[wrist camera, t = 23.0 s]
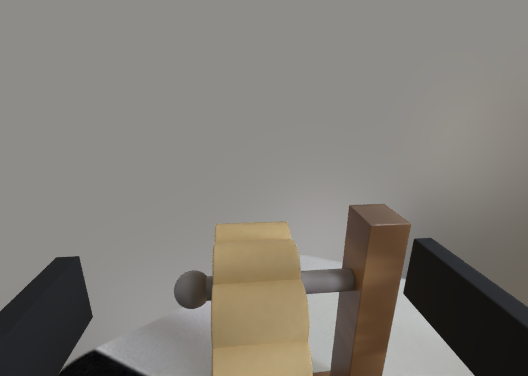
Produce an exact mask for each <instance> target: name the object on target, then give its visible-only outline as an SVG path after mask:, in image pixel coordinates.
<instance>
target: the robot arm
mask: <svg viewBox="0 0 528 376" xmlns="http://www.w3.org/2000/svg"><path fill="white" fill-rule="evenodd" d="M403 294H404V295H405V296H406V297H407V298H408V300H409V301H410V302H411V303H412V304H413V305H414V306H415V308H416V309H417V310H418V311H419V312H420V313H421V314H422V316H423V317H424V318H425V319H426V320H427V321H428V322H429V324H430V325H431V326H432V327H433V328H434V329H435V331H436V332H437V333H438V334H439V335H440V336H441V337H442V339H443V340H444V341H445V342H446V343H447V344H448V345H449V347H450V348H451V349H452V350H453V351H454V352H455V353H456V355H457V356H458V357H459V358H460V359H461V360H462V362H463V363H464V364H465V365H466V366H467V367H468V368H469V370H470V371H471V372H472V373H473V374H474V375H475V376H528V307H527V306H525V305H524V304H523V303H521V302H520V301H518V300H517V299H516V298H514V297H513V296H512V295H510V294H509V293H507V292H506V291H504V290H503V289H502V288H500V287H499V286H498V285H496V284H495V283H493V282H492V281H490V280H489V279H488V278H486V277H485V276H484V275H482V274H481V273H479V272H478V271H476V270H475V269H474V268H472V267H471V266H469V265H468V264H467V263H465V262H464V261H463V260H461V259H460V258H458V257H457V256H456V255H454V254H453V253H451V252H450V251H449V250H447V249H446V248H444V247H443V246H442V245H440V244H439V243H438V242H436V241H435V240H433V239H432V238H419V239H414V242H413V247H412V253H411V257H410V262H409V267H408V272H407V277H406V282H405V287H404V292H403ZM92 317H93V316H92V311H91V307H90V302H89V298H88V293H87V289H86V285H85V280H84V276H83V272H82V267H81V263H80V258H79V256H75V257H57V258H55V259H54V260H53V261H52V262H51V263H50V264H49V265H48V266H47V267H46V268H45V269H44V270H43V271H42V272H41V273H40V274H39V275H38V276H37V277H36V278H35V279H33V280H32V281H31V282H30V283H29V284H28V285H27V286H26V287H25V288H24V289H23V290H22V291H21V292H20V293H19V294H18V295H17V296H16V297H15V298H14V299H13V300H12V301H11V302H10V303H9V304H7V305H6V306H5V307H4V308H3V309H2V310H1V311H0V376H57V375H58V374H59V372H60V370H61V369H62V367H63V366H64V364H65V362H66V361H67V359H68V357H69V356H70V354H71V352H72V350H73V349H74V347H75V346H76V344H77V342H78V341H79V339H80V337H81V336H82V334H83V332H84V330H85V329H86V327H87V326H88V324H89V322H90V321H91V319H92Z"/></svg>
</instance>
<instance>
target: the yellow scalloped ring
mask: <svg viewBox="0 0 528 376" xmlns="http://www.w3.org/2000/svg"><path fill="white" fill-rule="evenodd" d="M211 337H212V376H313V370H312V360H311V353H310V347H309V342H308V338H309V310H308V302H307V297H306V292H305V288H304V285H303V283H302V280H301V270H300V260H299V254H298V250H297V246H296V244H295V242H294V240H292V239H291V236H290V230H289V226H288V224H287V222H285V221H284V222H283V221H281V222H255V223H231V224H230V223H229V224H216V227H215V244H214V248H213V287H212V301H211Z"/></svg>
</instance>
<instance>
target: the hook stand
mask: <svg viewBox="0 0 528 376" xmlns="http://www.w3.org/2000/svg"><path fill="white" fill-rule="evenodd" d="M410 228H411V223H410V222H408V221H407V220H406V219H404V218H403V217H401V216H400V215H399V214H397V213H396V212H395V211H393V210H392V209H390V208H389V207H388V206H386V205H385V204H371V205H370V204H368V205H350V206H349V213H348V222H347V231H346V239H345V249H344V257H343V266H342V269H328V270H310V271H301V280H302V283H303V285H304V288H305V292H306V294H314V293H329V292H339V300H338V309H337V318H336V327H335V335H334V344H333V353H332V362H331V370H330V371H327V372H317V373H313V376H382V373H383V368H384V363H385V357H386V352H387V347H388V342H389V337H390V332H391V326H392V321H393V316H394V311H395V306H396V301H397V295H398V290H399V285H400V280H401V275H402V270H403V264H404V259H405V254H406V249H407V244H408V238H409V233H410ZM212 287H213V276H208V277H207V276H206V275H205V274H204V273H202V272H200V271H189V272H186V273H184V274H183V275H181V276H180V278H179V279H178V280H177V282H176V284H175V288H174V295H175V298H176V300H177V302H178V303H179V304H180V305H181V306H182V307H184V308H187V309H195V308H198V307H201V306H202V305H203V304H205V303H206V301H211V300H212Z"/></svg>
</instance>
